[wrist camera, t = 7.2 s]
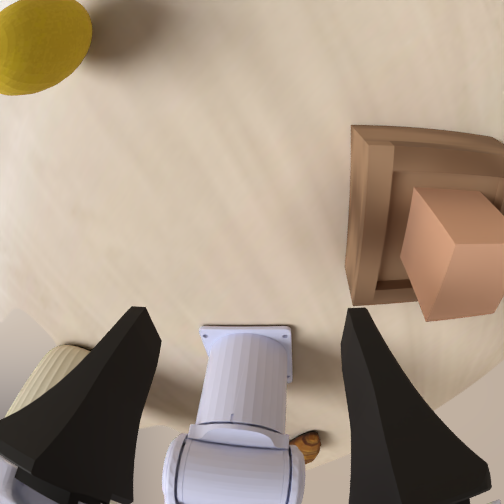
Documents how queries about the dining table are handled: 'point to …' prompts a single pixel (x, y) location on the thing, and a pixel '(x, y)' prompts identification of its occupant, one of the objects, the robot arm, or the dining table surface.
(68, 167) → the dining table surface
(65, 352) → the canister
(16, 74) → the lemon
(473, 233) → the block
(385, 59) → the dining table surface
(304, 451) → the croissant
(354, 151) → the walnut base
